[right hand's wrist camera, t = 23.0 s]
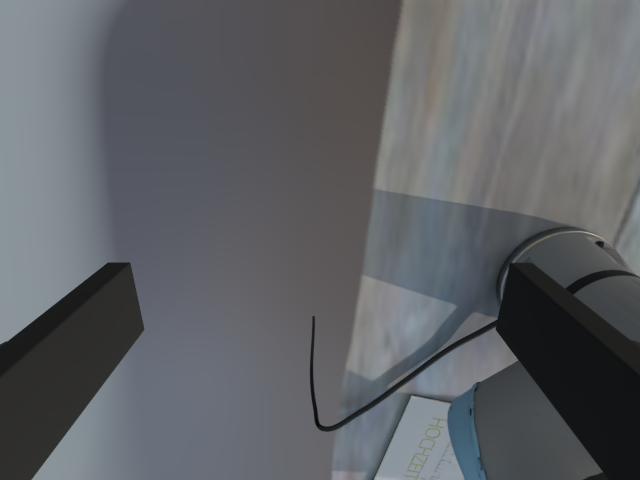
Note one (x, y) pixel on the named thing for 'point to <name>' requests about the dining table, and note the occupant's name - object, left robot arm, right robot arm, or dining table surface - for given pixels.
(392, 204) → the dining table surface
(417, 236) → the dining table surface
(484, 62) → the dining table surface
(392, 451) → the invitation card
